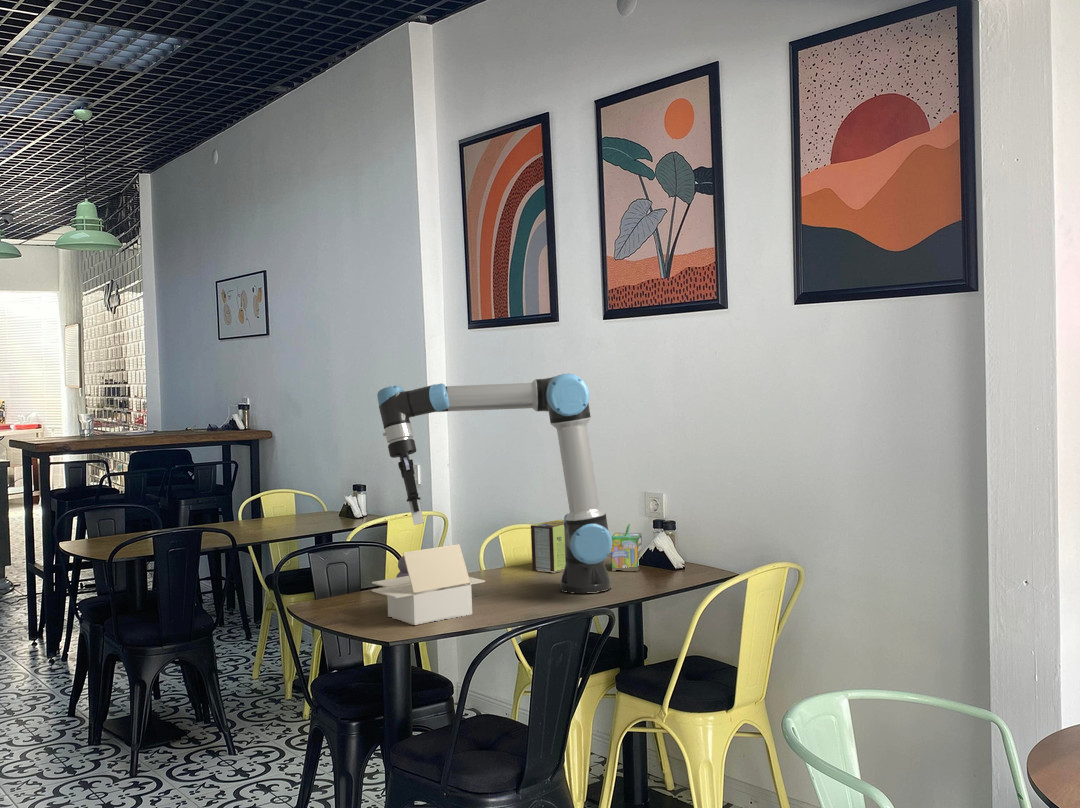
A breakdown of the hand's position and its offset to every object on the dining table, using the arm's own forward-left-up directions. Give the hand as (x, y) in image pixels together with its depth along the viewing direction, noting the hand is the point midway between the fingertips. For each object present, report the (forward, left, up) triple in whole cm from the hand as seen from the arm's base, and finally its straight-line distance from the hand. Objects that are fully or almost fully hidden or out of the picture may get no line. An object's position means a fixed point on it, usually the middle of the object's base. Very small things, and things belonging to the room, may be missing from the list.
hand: (419, 523), depth 266 cm
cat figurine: (+15, -20, -25) cm, 35 cm away
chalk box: (-38, -71, -25) cm, 84 cm away
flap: (-8, +6, -11) cm, 15 cm away
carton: (-1, +2, -24) cm, 24 cm away
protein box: (-15, -68, -25) cm, 74 cm away
